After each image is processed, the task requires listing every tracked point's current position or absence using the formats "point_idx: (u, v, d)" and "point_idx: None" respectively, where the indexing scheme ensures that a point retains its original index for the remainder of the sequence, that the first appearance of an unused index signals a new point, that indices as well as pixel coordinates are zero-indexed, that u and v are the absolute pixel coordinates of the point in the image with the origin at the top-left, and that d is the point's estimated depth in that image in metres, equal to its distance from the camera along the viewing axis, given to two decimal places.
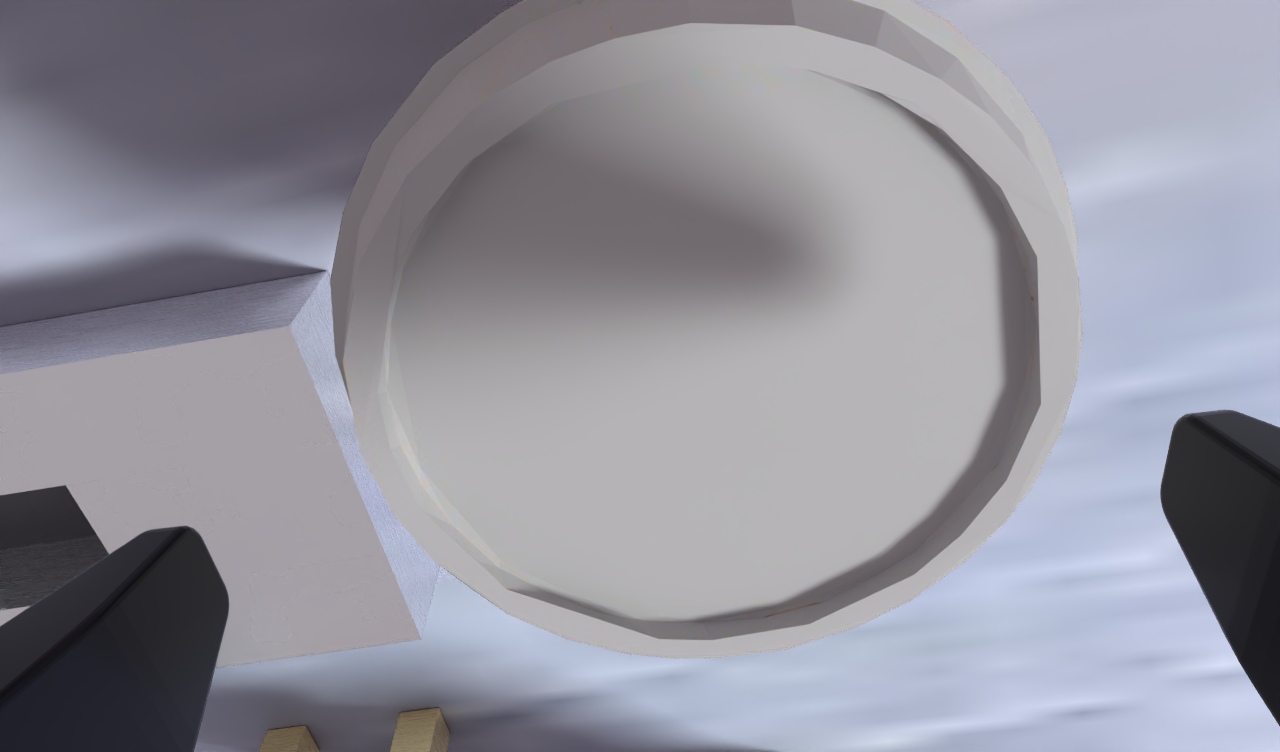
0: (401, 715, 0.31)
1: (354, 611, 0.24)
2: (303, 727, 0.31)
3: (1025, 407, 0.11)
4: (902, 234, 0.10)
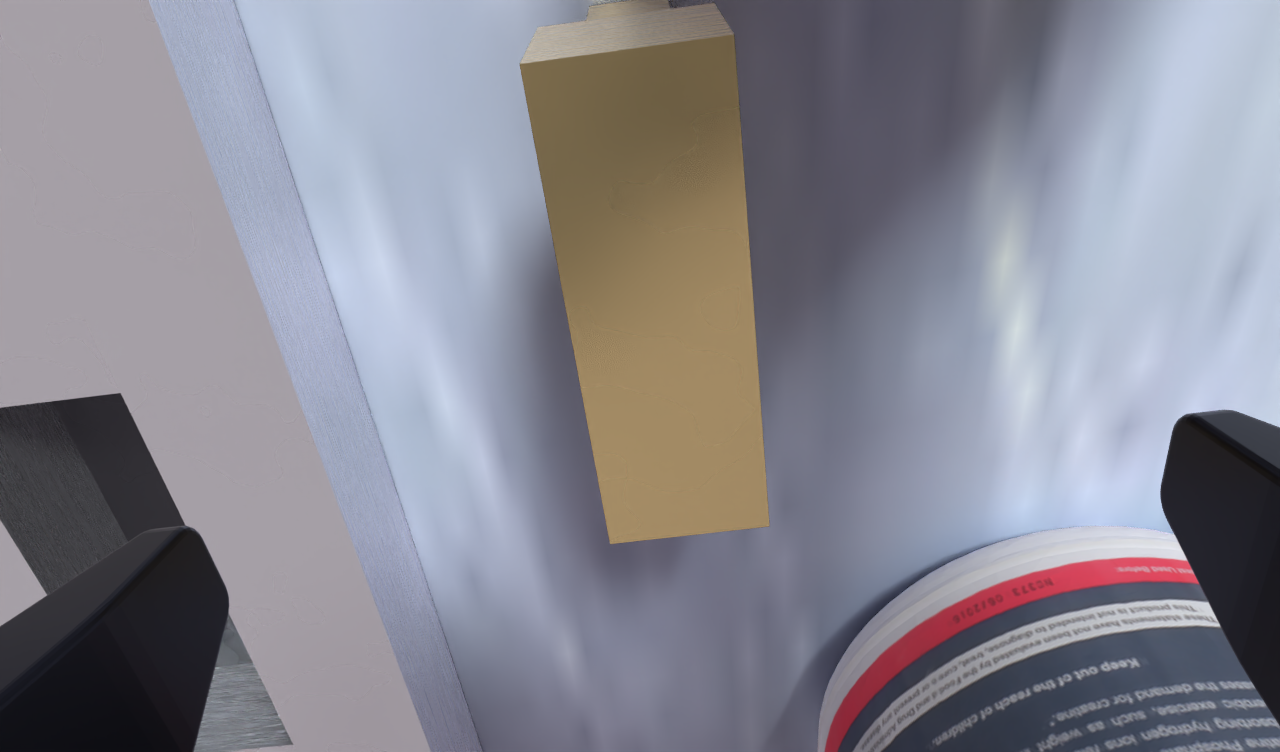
0: None
1: (84, 73, 0.14)
2: None
3: None
4: None
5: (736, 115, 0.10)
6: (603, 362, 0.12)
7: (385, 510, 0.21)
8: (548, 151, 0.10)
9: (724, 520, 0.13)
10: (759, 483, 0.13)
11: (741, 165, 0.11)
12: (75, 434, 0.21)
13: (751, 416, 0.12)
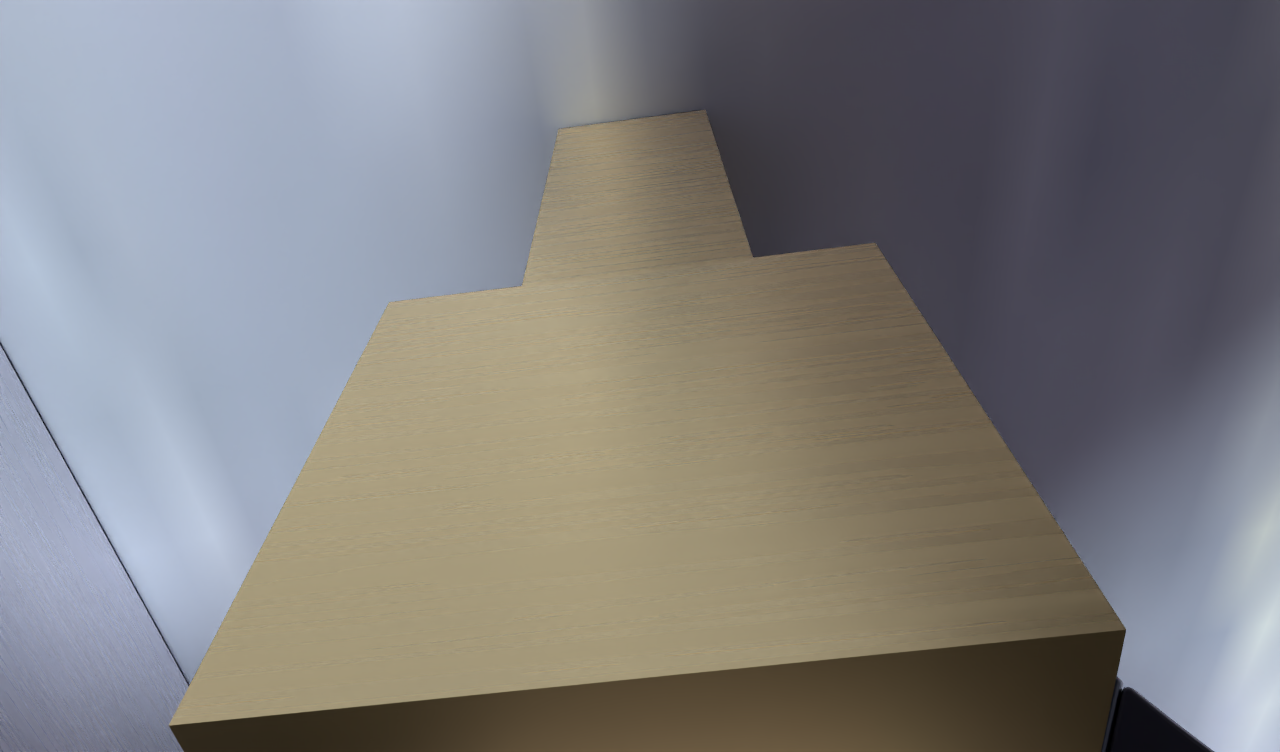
0: None
1: None
2: None
3: None
4: None
5: None
6: None
7: None
8: None
9: None
10: None
11: None
12: None
13: None
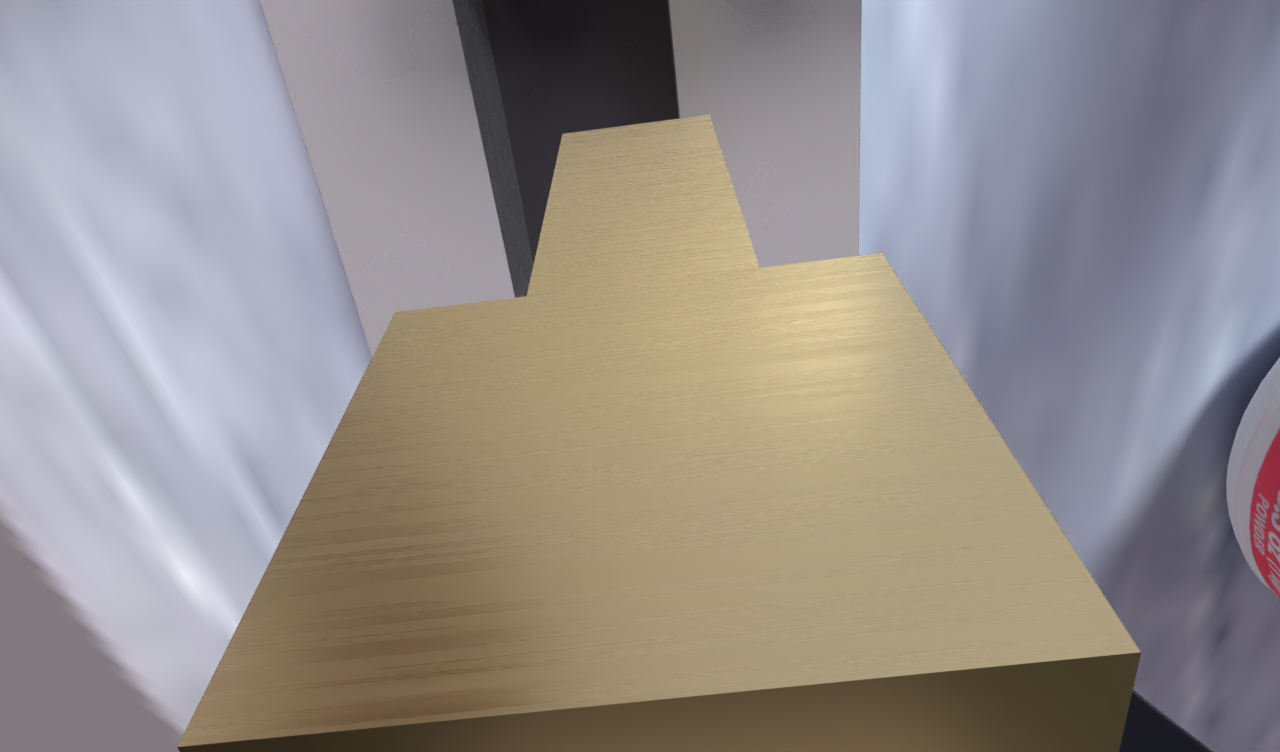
0: None
1: None
2: None
3: None
4: None
5: None
6: None
7: None
8: None
9: None
10: None
11: None
12: (491, 37, 0.18)
13: None
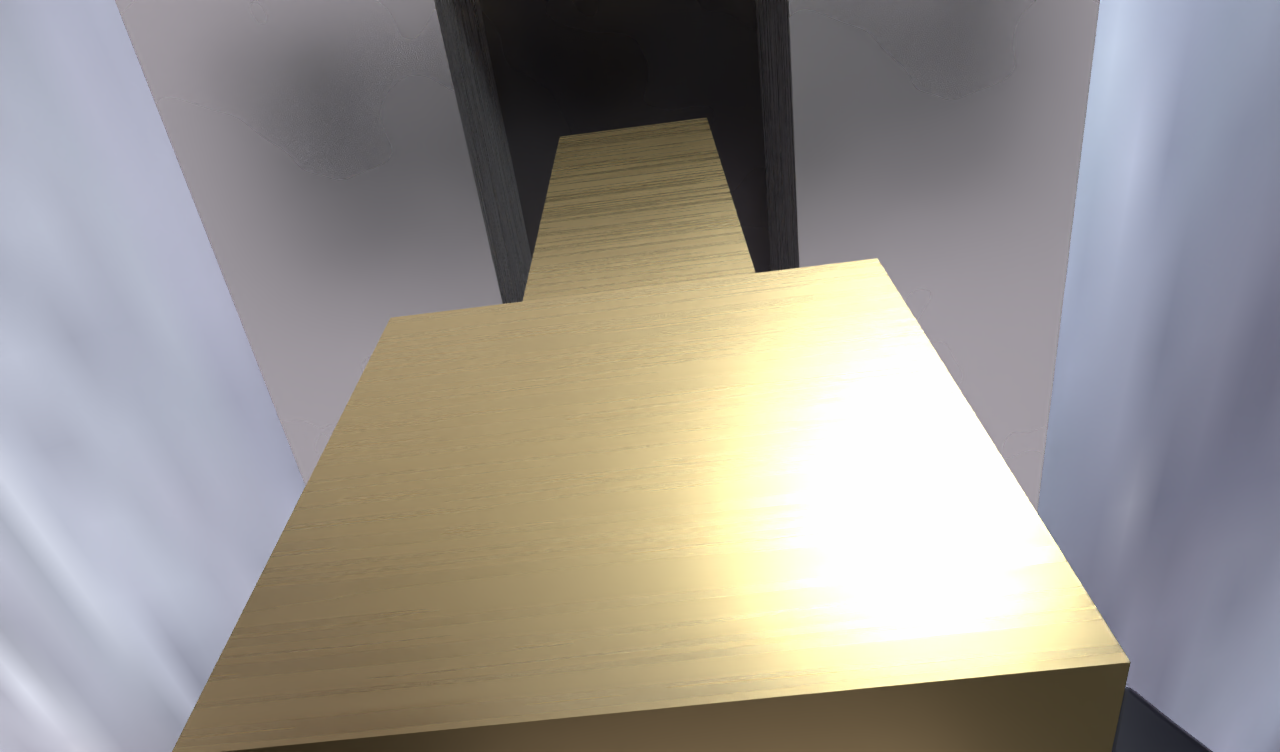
0: None
1: None
2: None
3: None
4: None
5: None
6: None
7: None
8: None
9: None
10: None
11: None
12: (501, 98, 0.13)
13: None
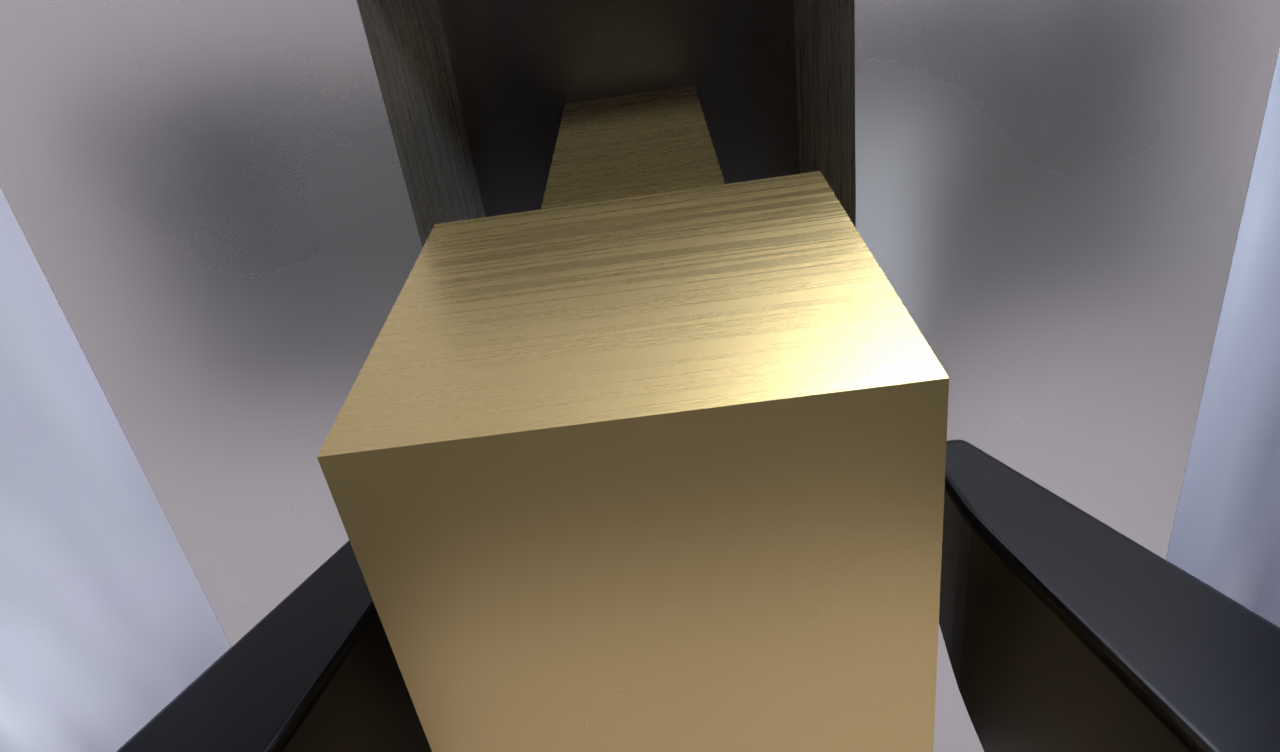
0: None
1: None
2: None
3: None
4: None
5: (932, 560, 0.04)
6: None
7: None
8: (420, 636, 0.04)
9: None
10: None
11: (932, 658, 0.04)
12: (475, 153, 0.10)
13: None
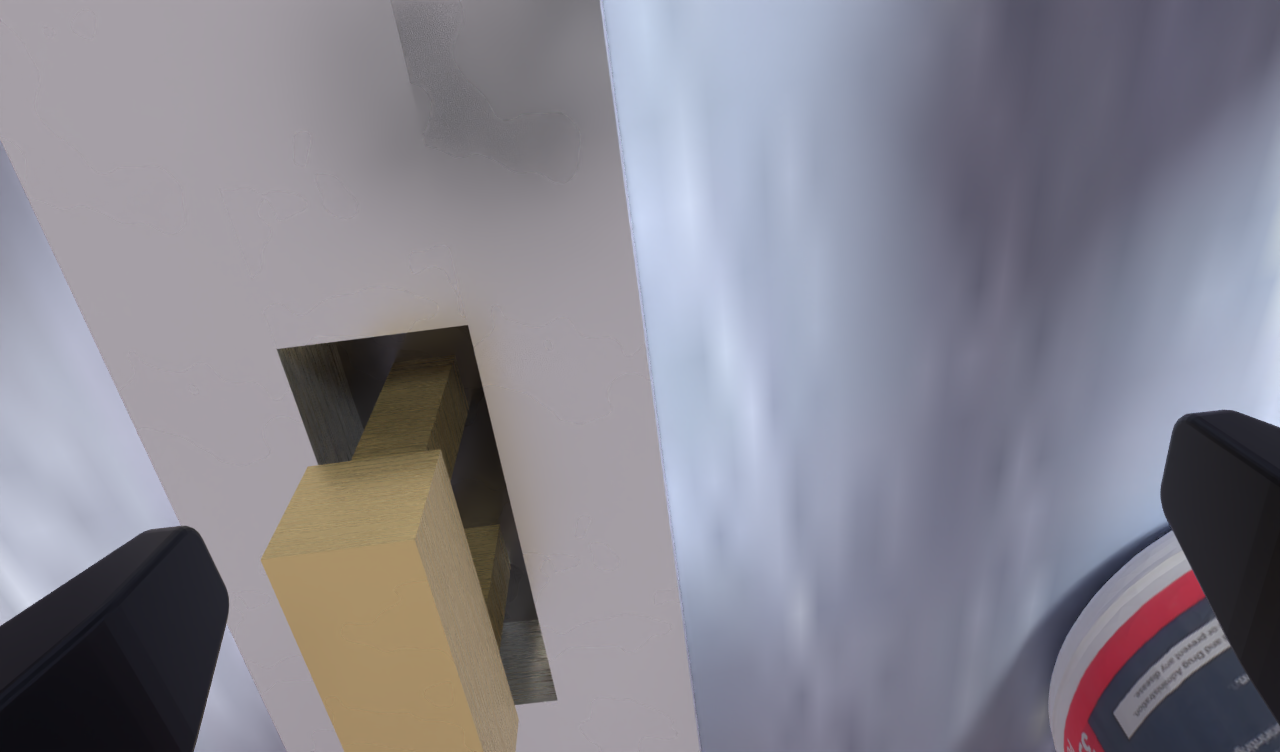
0: None
1: None
2: None
3: None
4: None
5: (426, 584, 0.14)
6: (356, 729, 0.16)
7: (662, 459, 0.21)
8: (290, 607, 0.14)
9: None
10: None
11: (436, 612, 0.14)
12: (351, 383, 0.20)
13: None
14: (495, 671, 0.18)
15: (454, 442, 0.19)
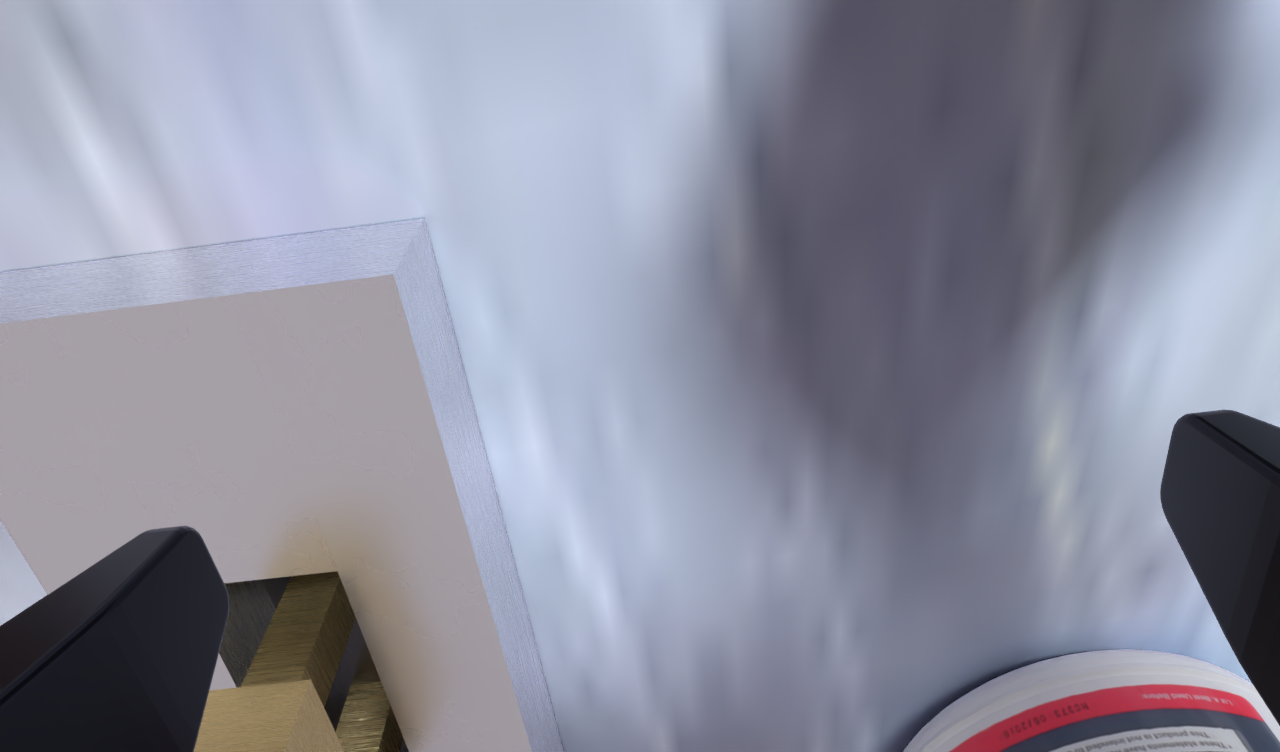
0: None
1: (344, 351, 0.18)
2: (350, 688, 0.26)
3: None
4: None
5: None
6: None
7: (524, 640, 0.25)
8: None
9: None
10: None
11: None
12: None
13: None
14: None
15: (341, 639, 0.23)
